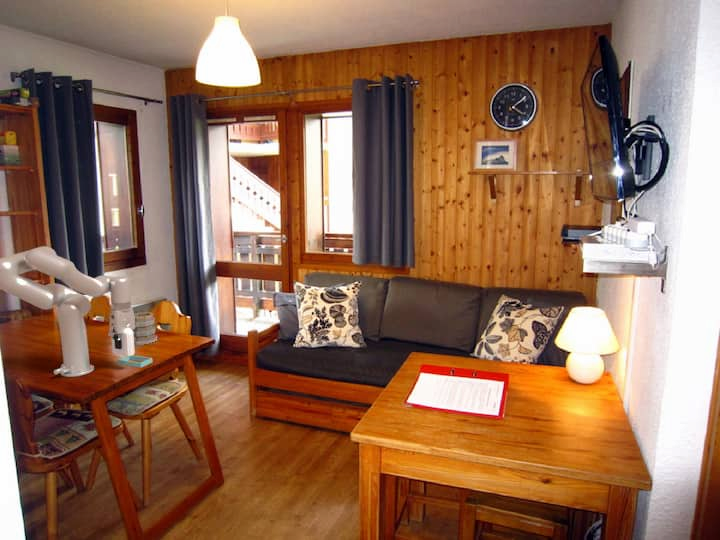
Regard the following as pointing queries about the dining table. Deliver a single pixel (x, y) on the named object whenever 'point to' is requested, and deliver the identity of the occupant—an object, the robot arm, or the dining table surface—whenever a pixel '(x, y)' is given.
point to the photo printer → (125, 343)
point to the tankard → (144, 328)
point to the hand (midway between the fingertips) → (123, 346)
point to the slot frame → (136, 364)
